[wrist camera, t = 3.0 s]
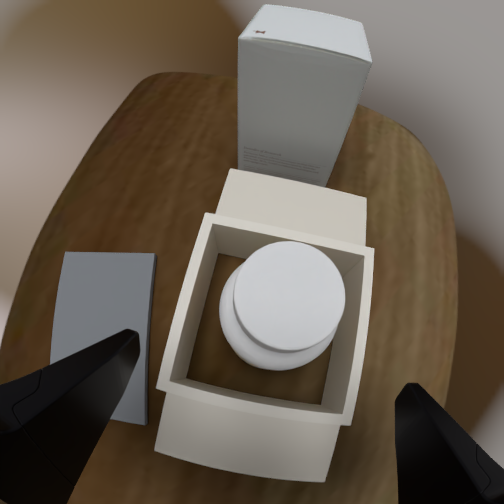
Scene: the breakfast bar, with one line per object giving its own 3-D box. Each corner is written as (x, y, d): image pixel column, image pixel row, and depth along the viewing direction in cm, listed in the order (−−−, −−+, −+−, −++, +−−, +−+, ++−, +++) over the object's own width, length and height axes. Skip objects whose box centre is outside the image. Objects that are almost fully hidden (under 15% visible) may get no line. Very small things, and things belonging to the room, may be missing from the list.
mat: (147, 423, 16) (144, 425, 15) (54, 401, 16) (49, 402, 15) (156, 256, 20) (154, 253, 20) (69, 254, 20) (65, 251, 20)
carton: (315, 460, 15) (334, 482, 11) (164, 430, 16) (143, 446, 12) (353, 230, 22) (374, 200, 18) (224, 203, 22) (221, 166, 18)
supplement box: (324, 195, 23) (375, 64, 11) (235, 175, 23) (232, 35, 12) (330, 135, 26) (365, 21, 14) (255, 118, 26) (262, 1, 15)
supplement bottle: (287, 278, 20) (321, 204, 11) (321, 348, 18) (388, 327, 9) (215, 307, 19) (190, 252, 10) (246, 381, 17) (249, 397, 8)
